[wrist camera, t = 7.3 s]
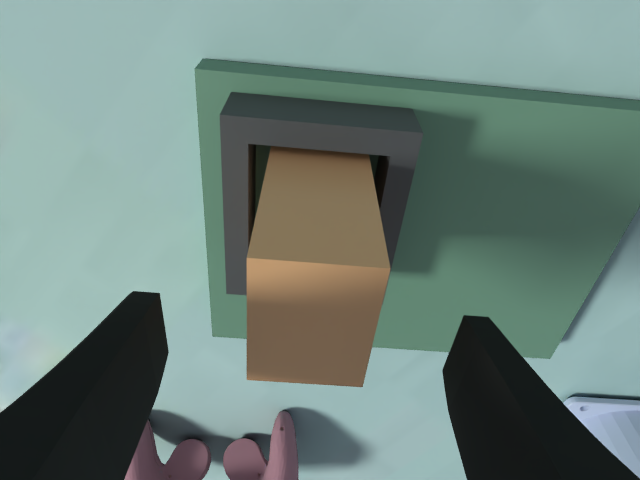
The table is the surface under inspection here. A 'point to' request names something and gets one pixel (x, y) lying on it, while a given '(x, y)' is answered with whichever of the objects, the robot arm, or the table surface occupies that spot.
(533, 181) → the board
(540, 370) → the table surface
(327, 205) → the plug
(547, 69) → the table surface
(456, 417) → the robot arm
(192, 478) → the video game controller
